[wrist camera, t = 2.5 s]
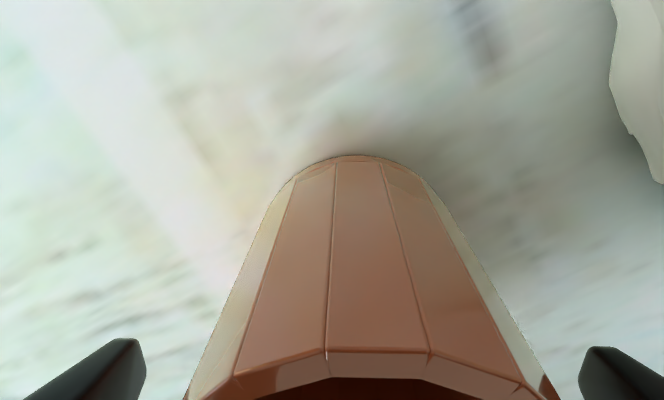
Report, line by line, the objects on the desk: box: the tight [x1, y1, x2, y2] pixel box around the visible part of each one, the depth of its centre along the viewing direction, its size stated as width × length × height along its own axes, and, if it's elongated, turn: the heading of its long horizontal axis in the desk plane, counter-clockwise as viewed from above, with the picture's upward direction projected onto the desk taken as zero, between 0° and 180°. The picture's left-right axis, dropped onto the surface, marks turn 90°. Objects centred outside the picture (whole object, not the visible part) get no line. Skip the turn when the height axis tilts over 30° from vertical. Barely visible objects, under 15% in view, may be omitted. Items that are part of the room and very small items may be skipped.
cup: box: [183, 155, 561, 400], centre depth 8 cm, size 6×6×7 cm
